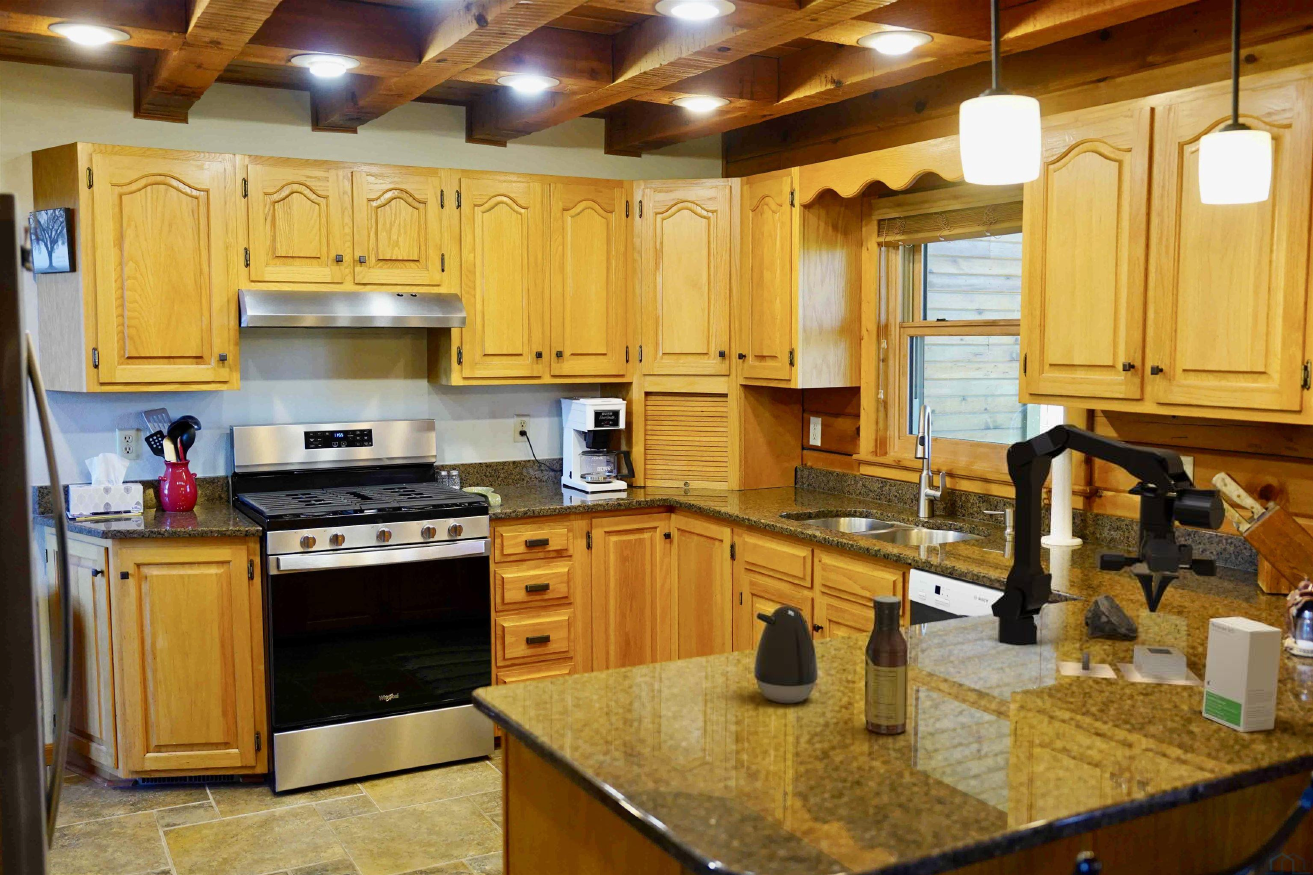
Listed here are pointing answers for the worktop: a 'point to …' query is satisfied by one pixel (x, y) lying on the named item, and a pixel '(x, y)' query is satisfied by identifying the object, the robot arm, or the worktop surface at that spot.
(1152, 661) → the collar
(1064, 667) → the stand
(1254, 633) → the skincare box
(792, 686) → the pump dispenser
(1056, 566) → the worktop surface
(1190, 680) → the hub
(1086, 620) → the carved stone fragment
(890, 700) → the sauce bottle
